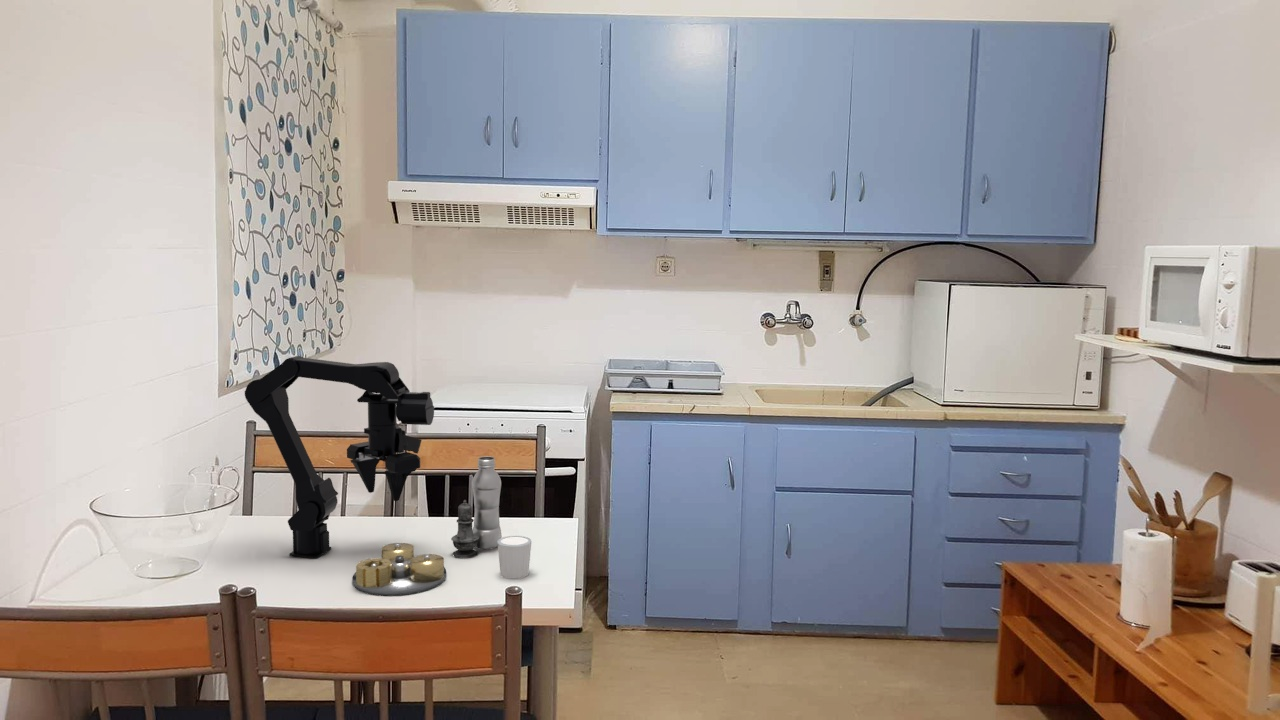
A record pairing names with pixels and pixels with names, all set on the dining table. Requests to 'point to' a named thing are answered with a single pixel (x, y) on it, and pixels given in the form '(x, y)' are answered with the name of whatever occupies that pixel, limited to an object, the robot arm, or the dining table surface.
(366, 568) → the gear
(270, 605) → the dining table surface
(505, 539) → the shot glass
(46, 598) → the dining table surface
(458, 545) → the salt shaker
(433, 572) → the carrier
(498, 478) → the plastic bottle
